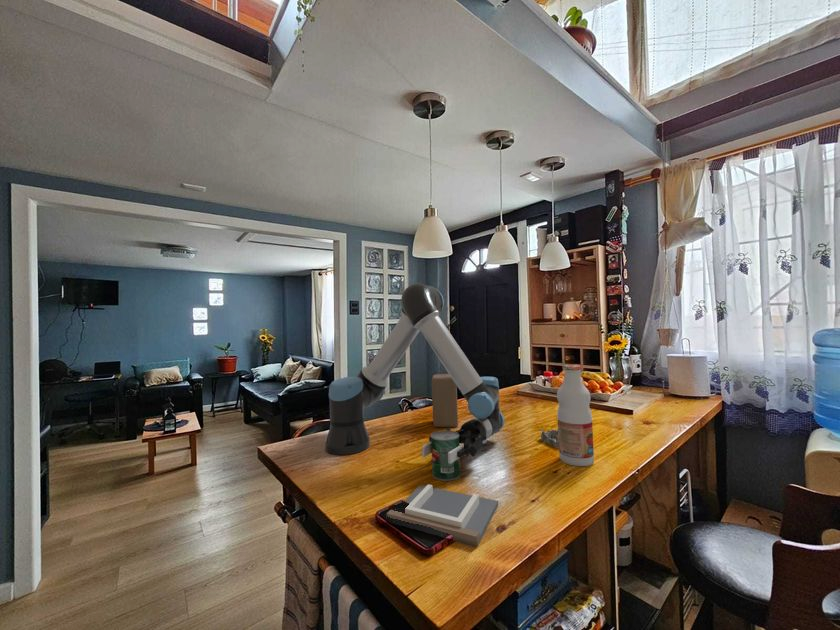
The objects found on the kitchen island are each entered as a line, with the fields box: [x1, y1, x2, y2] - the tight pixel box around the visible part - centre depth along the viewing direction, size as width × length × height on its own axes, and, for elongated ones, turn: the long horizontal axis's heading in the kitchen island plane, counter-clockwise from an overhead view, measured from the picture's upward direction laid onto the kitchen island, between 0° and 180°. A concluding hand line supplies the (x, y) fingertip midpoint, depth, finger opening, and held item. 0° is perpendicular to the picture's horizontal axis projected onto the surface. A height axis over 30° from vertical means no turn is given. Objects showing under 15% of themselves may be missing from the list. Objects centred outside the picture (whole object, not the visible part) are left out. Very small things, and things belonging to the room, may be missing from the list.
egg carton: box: [538, 428, 559, 449], centre depth 116 cm, size 11×8×4 cm
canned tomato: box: [430, 430, 461, 482], centre depth 95 cm, size 8×8×11 cm
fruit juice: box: [556, 364, 595, 467], centre depth 101 cm, size 9×9×28 cm
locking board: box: [386, 484, 499, 548], centre depth 76 cm, size 20×16×3 cm
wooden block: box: [431, 373, 459, 428], centre depth 142 cm, size 10×10×20 cm
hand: (435, 454), depth 91 cm, fingers closed on canned tomato, 8 cm apart
